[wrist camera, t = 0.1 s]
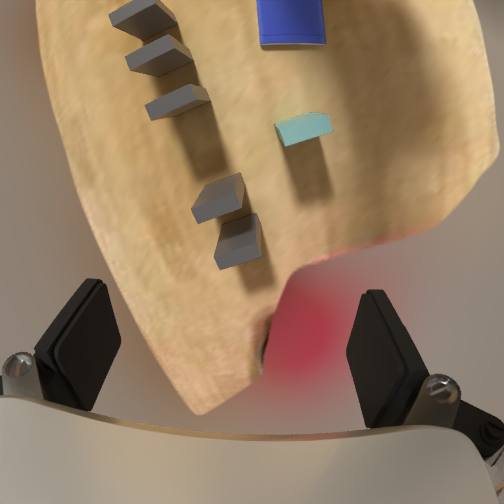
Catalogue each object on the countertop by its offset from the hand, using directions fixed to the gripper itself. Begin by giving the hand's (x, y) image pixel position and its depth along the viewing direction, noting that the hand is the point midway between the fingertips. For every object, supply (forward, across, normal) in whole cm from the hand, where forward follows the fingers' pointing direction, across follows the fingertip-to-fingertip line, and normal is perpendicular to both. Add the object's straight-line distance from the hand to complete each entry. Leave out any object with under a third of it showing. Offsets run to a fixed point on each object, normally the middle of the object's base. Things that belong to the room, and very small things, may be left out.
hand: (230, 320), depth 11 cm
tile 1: (+31, +12, -19) cm, 38 cm away
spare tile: (+31, -6, -5) cm, 32 cm away
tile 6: (+31, +1, +9) cm, 32 cm away
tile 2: (+31, +10, -13) cm, 35 cm away
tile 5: (+31, +3, +3) cm, 31 cm away
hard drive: (+32, -4, -22) cm, 39 cm away
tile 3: (+31, +8, -8) cm, 33 cm away
